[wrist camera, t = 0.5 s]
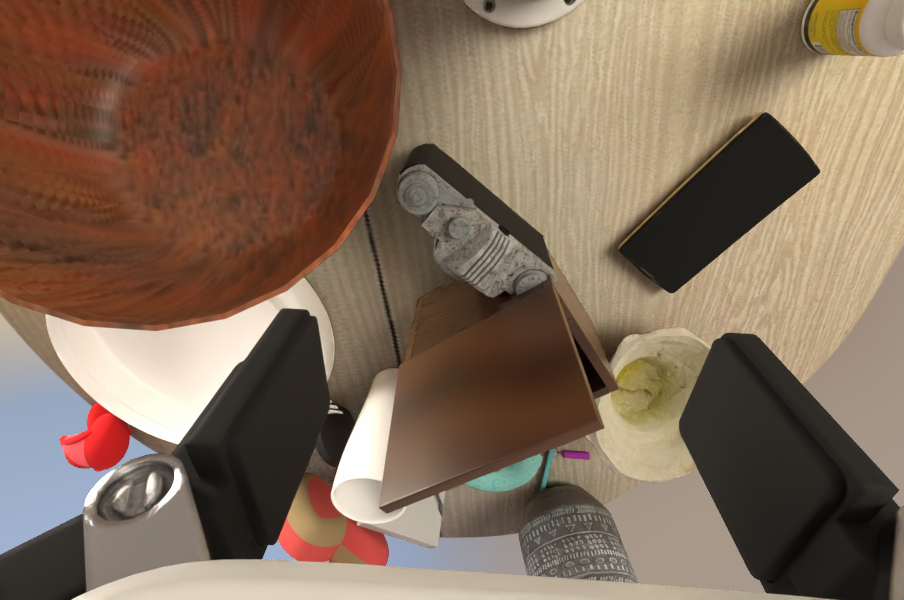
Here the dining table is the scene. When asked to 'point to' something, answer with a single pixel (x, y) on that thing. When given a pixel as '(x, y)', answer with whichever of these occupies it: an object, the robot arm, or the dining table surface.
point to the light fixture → (335, 436)
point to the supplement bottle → (854, 27)
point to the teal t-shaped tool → (565, 454)
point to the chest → (468, 306)
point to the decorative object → (327, 530)
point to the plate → (173, 361)
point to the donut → (509, 476)
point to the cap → (98, 441)
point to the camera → (471, 226)
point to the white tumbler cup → (367, 456)
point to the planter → (572, 538)
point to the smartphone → (719, 203)
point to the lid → (486, 401)
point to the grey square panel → (416, 522)
